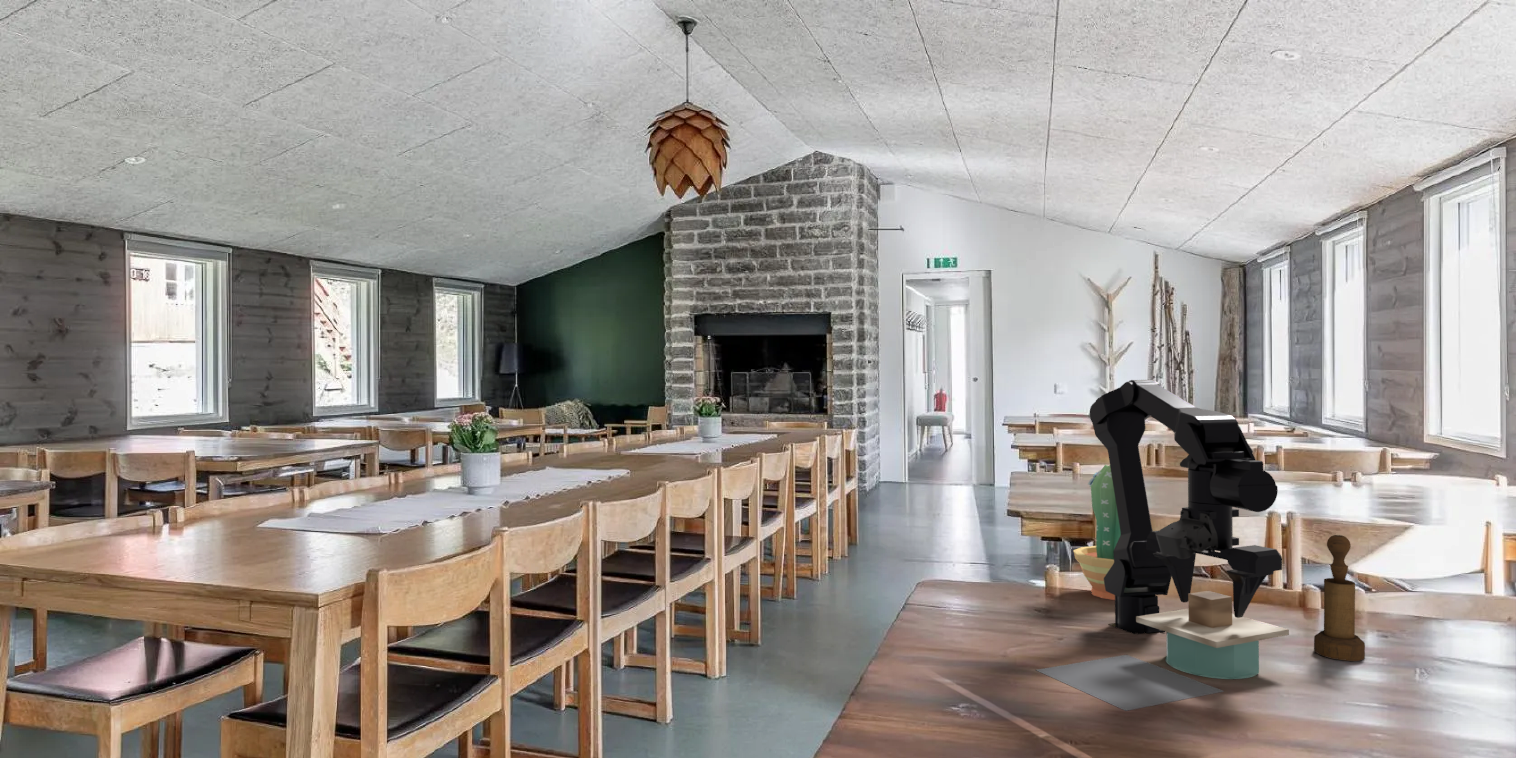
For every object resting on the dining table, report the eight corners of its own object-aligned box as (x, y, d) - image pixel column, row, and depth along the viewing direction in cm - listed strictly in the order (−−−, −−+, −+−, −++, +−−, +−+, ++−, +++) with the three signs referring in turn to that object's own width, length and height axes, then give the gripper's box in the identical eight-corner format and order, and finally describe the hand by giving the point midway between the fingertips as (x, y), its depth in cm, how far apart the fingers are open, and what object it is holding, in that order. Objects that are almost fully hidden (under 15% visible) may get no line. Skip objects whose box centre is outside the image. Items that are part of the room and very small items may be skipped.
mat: (1035, 674, 128) (1035, 669, 128) (1126, 658, 135) (1126, 654, 135) (1125, 715, 113) (1125, 710, 113) (1224, 695, 119) (1224, 691, 119)
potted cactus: (1160, 589, 177) (1159, 462, 177) (1158, 608, 163) (1157, 470, 163) (1077, 582, 184) (1076, 460, 184) (1069, 599, 170) (1068, 467, 170)
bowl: (1147, 663, 133) (1147, 622, 133) (1206, 652, 138) (1206, 613, 138) (1216, 689, 122) (1216, 645, 122) (1278, 677, 127) (1278, 634, 127)
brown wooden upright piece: (1373, 662, 132) (1372, 540, 132) (1324, 660, 133) (1324, 539, 133) (1353, 648, 139) (1352, 532, 139) (1306, 646, 140) (1306, 531, 140)
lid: (1136, 621, 134) (1135, 589, 134) (1204, 611, 139) (1204, 580, 139) (1216, 647, 121) (1216, 612, 121) (1289, 635, 126) (1288, 601, 126)
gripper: (1118, 497, 135) (1119, 600, 136) (1225, 514, 118) (1226, 633, 118) (1173, 492, 140) (1174, 592, 140) (1284, 509, 122) (1285, 623, 123)
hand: (1210, 609), depth 130 cm, fingers open, 9 cm apart
